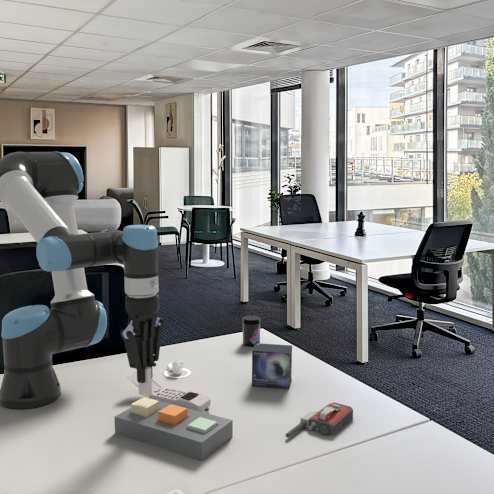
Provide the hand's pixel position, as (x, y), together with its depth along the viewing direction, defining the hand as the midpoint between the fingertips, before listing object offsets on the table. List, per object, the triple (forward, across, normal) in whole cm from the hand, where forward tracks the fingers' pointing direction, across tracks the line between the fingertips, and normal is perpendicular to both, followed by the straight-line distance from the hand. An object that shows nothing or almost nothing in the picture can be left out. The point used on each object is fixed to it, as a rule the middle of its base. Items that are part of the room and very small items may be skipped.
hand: (145, 394), depth 136 cm
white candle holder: (+9, +34, +14) cm, 38 cm away
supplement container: (+8, +65, +9) cm, 66 cm away
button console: (+8, 0, -8) cm, 11 cm away
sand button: (+7, 0, 0) cm, 7 cm away
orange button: (+7, 0, -8) cm, 10 cm away
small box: (+8, +38, -13) cm, 41 cm away
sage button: (+8, 0, -16) cm, 18 cm away
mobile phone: (+9, +14, +4) cm, 17 cm away
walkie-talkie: (+9, +21, -35) cm, 42 cm away
